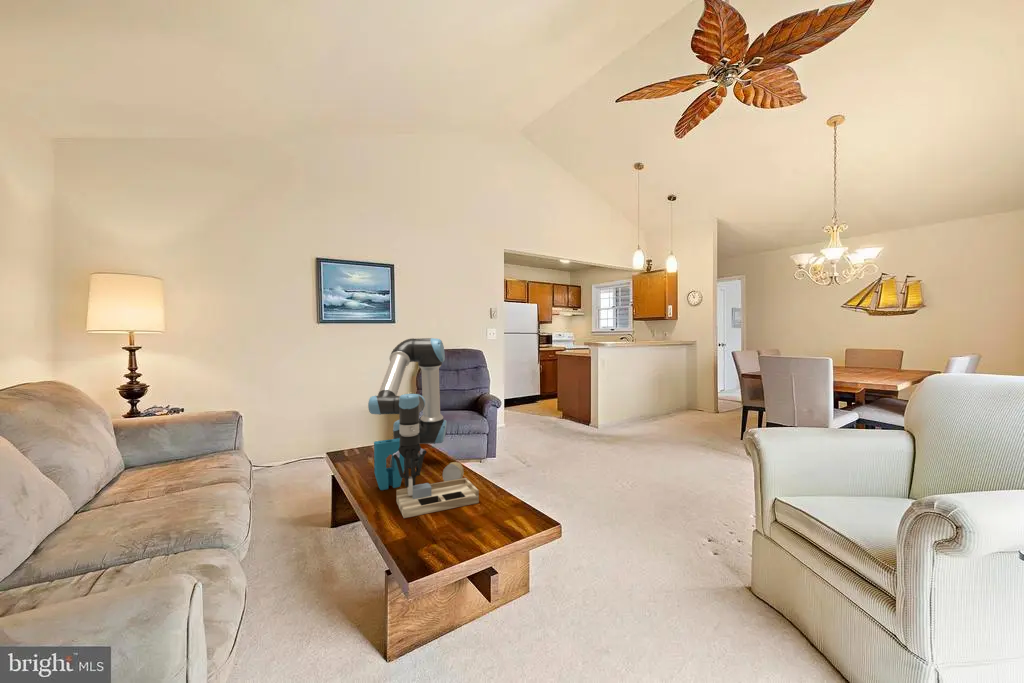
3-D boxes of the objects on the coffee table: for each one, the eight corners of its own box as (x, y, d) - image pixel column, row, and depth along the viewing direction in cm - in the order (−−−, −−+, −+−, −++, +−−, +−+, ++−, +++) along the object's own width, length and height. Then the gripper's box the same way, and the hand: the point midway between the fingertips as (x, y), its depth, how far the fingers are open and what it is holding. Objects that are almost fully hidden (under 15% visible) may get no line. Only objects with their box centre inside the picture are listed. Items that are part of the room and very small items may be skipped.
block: (410, 494, 156) (410, 485, 156) (428, 491, 159) (428, 482, 159) (413, 499, 152) (413, 490, 152) (431, 495, 155) (431, 487, 155)
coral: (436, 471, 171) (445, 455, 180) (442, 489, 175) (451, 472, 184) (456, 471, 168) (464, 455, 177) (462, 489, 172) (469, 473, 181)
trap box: (396, 502, 156) (396, 489, 156) (466, 489, 169) (466, 477, 168) (403, 518, 142) (403, 504, 142) (478, 502, 155) (478, 490, 155)
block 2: (402, 482, 177) (401, 437, 177) (404, 485, 173) (404, 440, 172) (374, 487, 171) (373, 441, 171) (376, 491, 167) (375, 444, 167)
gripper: (393, 438, 147) (394, 501, 148) (428, 434, 153) (429, 494, 153) (390, 433, 154) (391, 493, 154) (424, 430, 159) (424, 487, 160)
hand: (410, 494), depth 154 cm, fingers closed
